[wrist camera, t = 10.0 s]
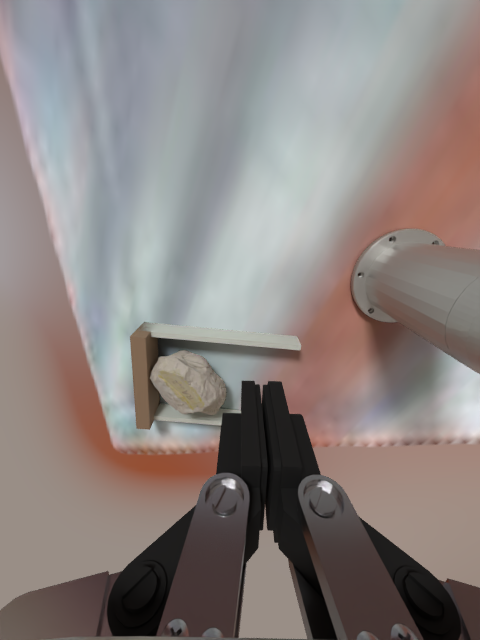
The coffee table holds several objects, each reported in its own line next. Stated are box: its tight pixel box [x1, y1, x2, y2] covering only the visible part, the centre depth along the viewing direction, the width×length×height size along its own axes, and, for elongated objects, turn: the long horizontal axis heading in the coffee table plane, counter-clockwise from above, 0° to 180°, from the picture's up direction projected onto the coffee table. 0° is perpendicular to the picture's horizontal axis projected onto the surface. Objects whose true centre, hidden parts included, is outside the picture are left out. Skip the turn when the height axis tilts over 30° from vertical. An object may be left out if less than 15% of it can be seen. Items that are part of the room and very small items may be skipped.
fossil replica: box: [150, 350, 227, 415], centre depth 37 cm, size 12×8×10 cm
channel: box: [130, 322, 301, 429], centre depth 38 cm, size 23×16×5 cm
